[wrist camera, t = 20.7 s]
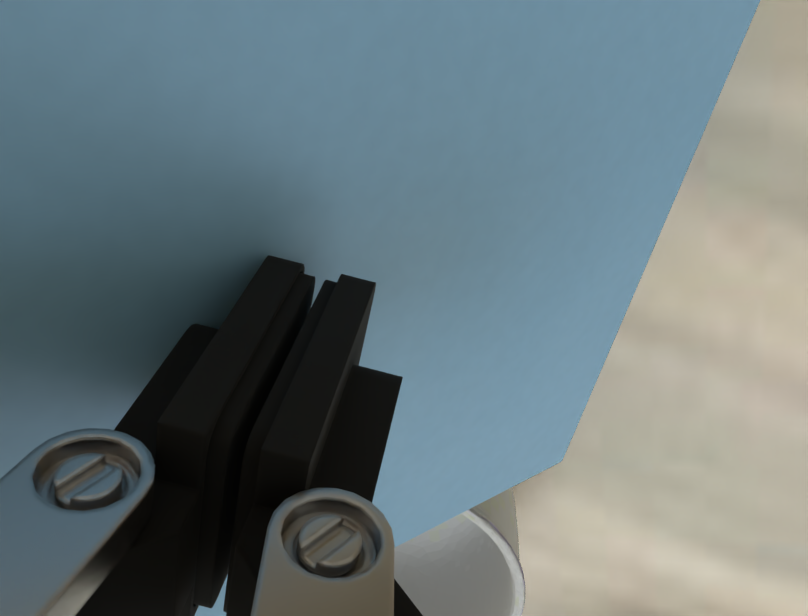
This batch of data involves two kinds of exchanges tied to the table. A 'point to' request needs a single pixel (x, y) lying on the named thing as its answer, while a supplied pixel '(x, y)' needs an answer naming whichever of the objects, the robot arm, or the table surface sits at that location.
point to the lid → (347, 202)
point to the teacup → (466, 563)
